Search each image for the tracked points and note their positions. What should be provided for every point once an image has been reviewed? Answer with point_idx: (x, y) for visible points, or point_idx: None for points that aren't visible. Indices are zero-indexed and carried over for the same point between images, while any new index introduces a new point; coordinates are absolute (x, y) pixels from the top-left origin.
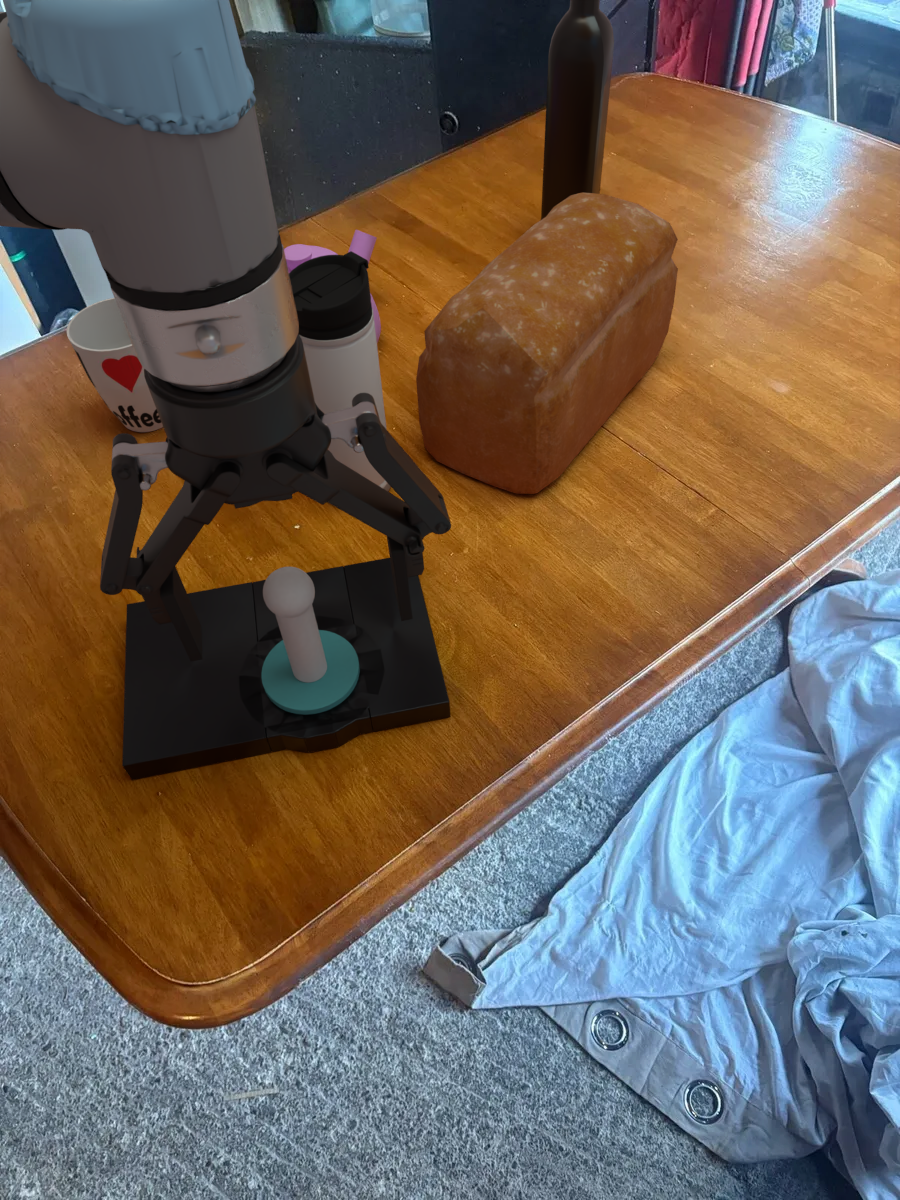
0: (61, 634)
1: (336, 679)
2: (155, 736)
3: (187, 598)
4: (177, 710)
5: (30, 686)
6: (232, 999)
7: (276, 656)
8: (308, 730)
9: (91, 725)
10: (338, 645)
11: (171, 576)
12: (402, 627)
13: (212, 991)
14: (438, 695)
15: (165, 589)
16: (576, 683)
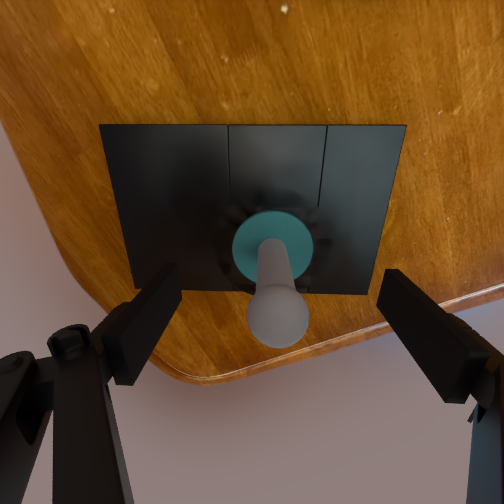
0: (48, 127)
1: (291, 266)
2: (154, 272)
3: (155, 297)
4: (167, 256)
5: (44, 182)
6: (210, 384)
7: (245, 233)
8: None
9: (105, 231)
10: (300, 235)
11: (123, 360)
12: (358, 221)
13: (201, 380)
14: (361, 289)
15: (120, 375)
16: (458, 279)
